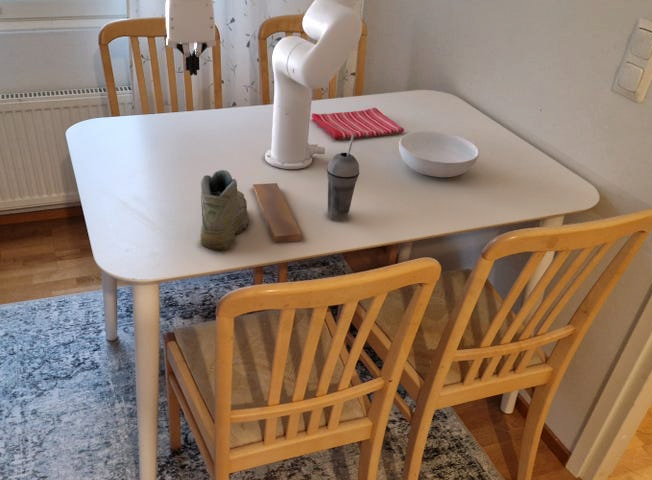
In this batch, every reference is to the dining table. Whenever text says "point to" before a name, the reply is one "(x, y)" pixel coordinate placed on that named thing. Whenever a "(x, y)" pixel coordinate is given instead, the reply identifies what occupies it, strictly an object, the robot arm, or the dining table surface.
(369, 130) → the dish towel
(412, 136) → the serving bowl
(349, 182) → the beverage cup
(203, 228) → the sneaker
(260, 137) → the dining table surface
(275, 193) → the oak board
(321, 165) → the dining table surface
